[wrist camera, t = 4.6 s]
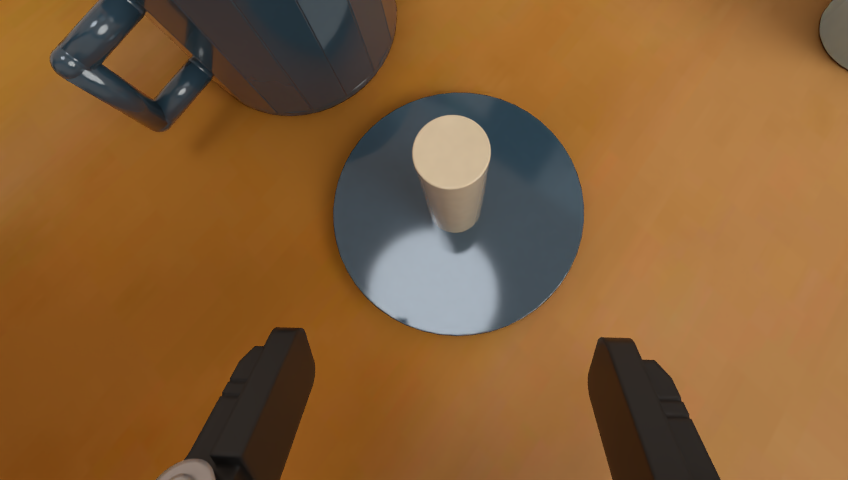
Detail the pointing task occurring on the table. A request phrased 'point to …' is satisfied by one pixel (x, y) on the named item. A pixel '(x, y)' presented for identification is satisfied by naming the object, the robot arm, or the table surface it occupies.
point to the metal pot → (282, 47)
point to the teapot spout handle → (84, 68)
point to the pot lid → (458, 214)
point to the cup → (836, 31)
